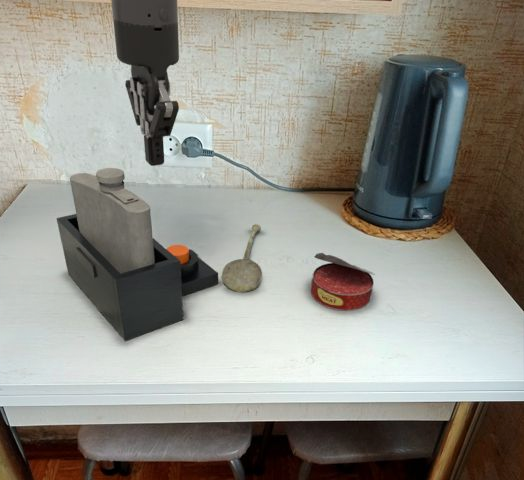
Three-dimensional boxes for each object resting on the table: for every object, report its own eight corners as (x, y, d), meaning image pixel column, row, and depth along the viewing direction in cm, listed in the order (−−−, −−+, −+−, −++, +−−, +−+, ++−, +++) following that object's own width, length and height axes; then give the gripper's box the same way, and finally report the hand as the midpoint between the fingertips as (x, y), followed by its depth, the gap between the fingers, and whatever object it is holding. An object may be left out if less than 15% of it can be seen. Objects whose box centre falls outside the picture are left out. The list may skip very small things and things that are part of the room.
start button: (173, 267, 80) (173, 257, 79) (162, 257, 83) (161, 248, 81) (193, 261, 82) (193, 251, 81) (181, 252, 84) (181, 242, 83)
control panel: (170, 300, 80) (168, 278, 77) (140, 272, 85) (138, 251, 83) (218, 284, 84) (218, 263, 81) (186, 258, 90) (186, 238, 87)
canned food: (306, 311, 87) (295, 253, 85) (358, 297, 90) (349, 240, 87) (334, 320, 77) (322, 255, 74) (392, 304, 79) (383, 240, 77)
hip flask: (85, 283, 82) (61, 158, 69) (107, 274, 84) (88, 152, 72) (146, 327, 74) (132, 195, 61) (168, 316, 76) (159, 186, 64)
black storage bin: (123, 341, 71) (114, 280, 65) (66, 275, 83) (54, 218, 77) (183, 319, 76) (180, 260, 70) (121, 259, 88) (114, 205, 82)
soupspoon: (217, 292, 83) (257, 299, 83) (218, 275, 81) (259, 282, 81) (240, 228, 100) (273, 234, 99) (241, 213, 97) (275, 218, 97)
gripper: (96, 8, 63) (113, 151, 74) (134, 26, 54) (146, 184, 65) (154, 8, 66) (162, 145, 77) (198, 25, 57) (200, 176, 68)
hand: (155, 163), depth 71 cm, fingers closed
